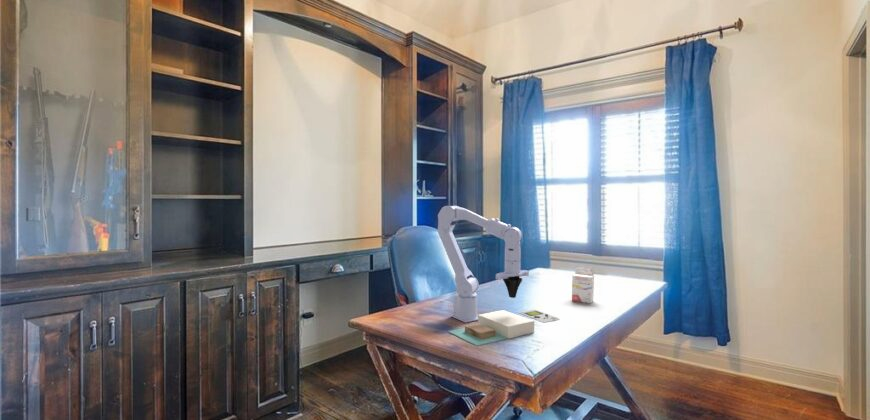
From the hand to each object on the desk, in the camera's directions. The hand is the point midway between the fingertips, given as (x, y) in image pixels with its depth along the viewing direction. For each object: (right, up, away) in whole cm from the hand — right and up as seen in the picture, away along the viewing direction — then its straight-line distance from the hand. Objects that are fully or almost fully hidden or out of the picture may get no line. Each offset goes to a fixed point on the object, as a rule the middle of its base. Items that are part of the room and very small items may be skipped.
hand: (512, 297), depth 151 cm
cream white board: (-3, -10, -5) cm, 12 cm away
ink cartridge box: (+38, -9, +34) cm, 52 cm away
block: (-13, -8, -12) cm, 19 cm away
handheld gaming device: (+12, -10, +11) cm, 19 cm away
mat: (-14, -10, -12) cm, 21 cm away
